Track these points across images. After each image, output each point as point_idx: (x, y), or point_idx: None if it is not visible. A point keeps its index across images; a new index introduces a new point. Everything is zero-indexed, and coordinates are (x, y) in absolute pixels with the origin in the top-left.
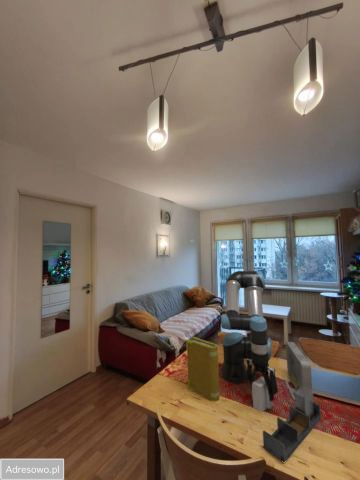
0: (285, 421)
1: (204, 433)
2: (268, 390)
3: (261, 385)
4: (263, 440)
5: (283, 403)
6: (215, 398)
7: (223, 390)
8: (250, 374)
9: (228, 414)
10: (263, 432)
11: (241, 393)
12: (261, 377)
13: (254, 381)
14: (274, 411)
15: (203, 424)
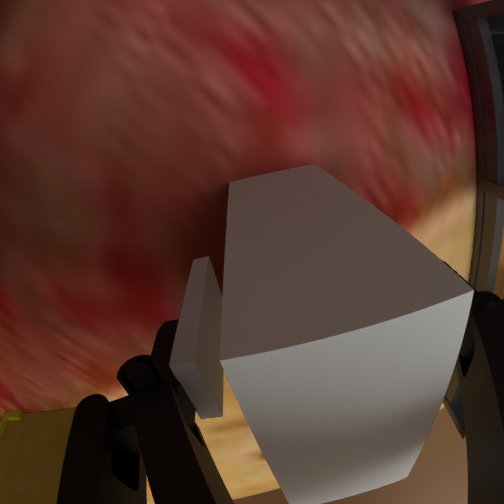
0: (492, 263)
1: (275, 488)
2: (464, 376)
3: (408, 464)
4: (450, 414)
5: (358, 52)
6: None
7: (47, 364)
8: (121, 495)
9: (240, 436)
10: (464, 436)
11: (87, 294)
12: (259, 400)
13: (287, 496)
14: (382, 208)
15: (242, 485)
